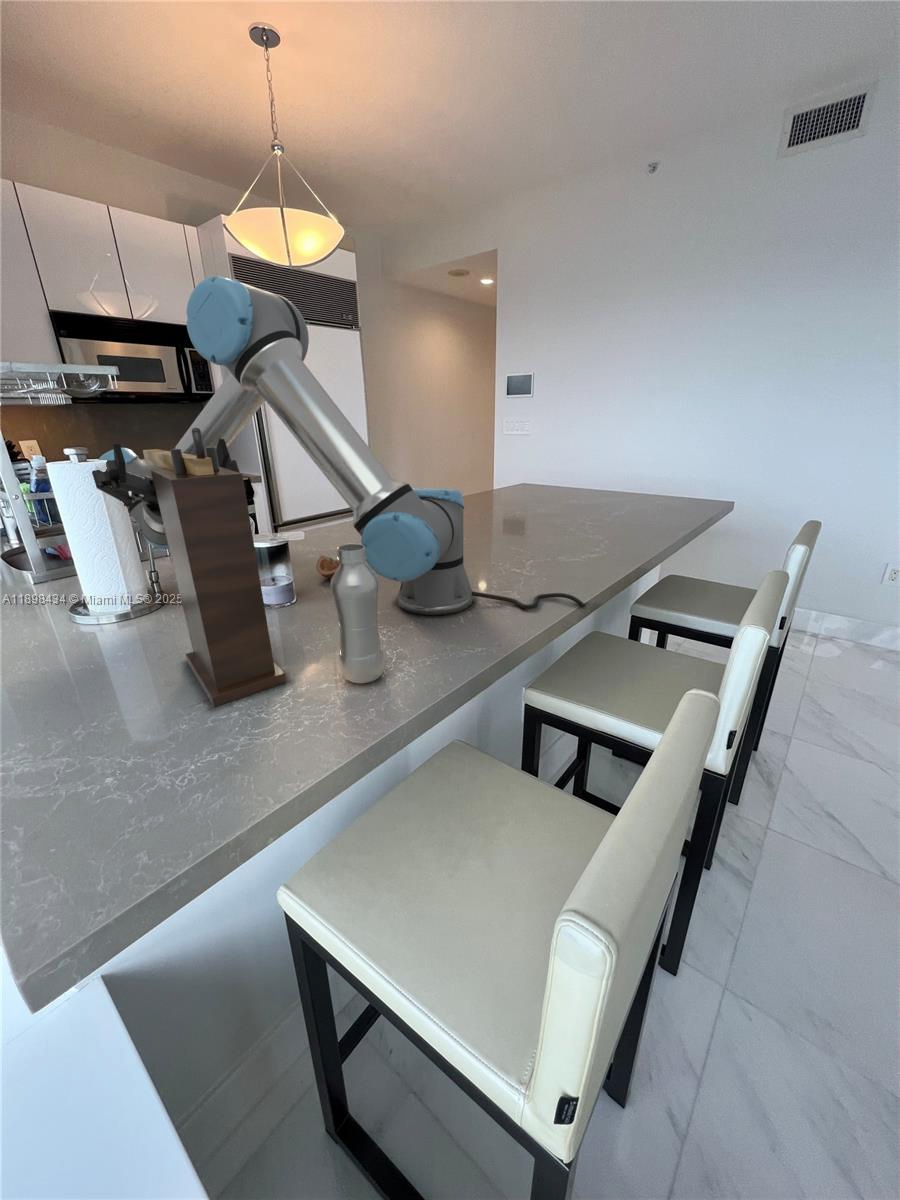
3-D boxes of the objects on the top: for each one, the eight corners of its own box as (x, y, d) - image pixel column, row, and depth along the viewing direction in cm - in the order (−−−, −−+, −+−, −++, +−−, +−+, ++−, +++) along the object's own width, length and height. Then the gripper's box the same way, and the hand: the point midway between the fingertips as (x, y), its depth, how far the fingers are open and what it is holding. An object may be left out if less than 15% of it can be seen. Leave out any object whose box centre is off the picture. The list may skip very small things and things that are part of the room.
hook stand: (286, 682, 72) (249, 448, 60) (214, 707, 66) (156, 453, 54) (251, 644, 83) (214, 442, 71) (187, 662, 78) (135, 446, 66)
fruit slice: (357, 578, 115) (356, 557, 113) (336, 586, 110) (334, 565, 108) (333, 572, 119) (331, 552, 118) (311, 579, 114) (309, 559, 112)
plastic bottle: (377, 691, 69) (366, 555, 62) (333, 686, 71) (317, 553, 63) (391, 668, 75) (383, 542, 68) (350, 664, 76) (337, 540, 69)
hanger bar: (214, 474, 60) (205, 427, 58) (197, 476, 59) (187, 427, 57) (160, 462, 74) (151, 424, 72) (145, 464, 73) (136, 424, 71)
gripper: (76, 494, 81) (59, 429, 63) (233, 479, 95) (254, 422, 78) (89, 537, 80) (76, 483, 63) (244, 515, 95) (269, 467, 77)
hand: (174, 449), depth 70 cm, fingers open, 13 cm apart
